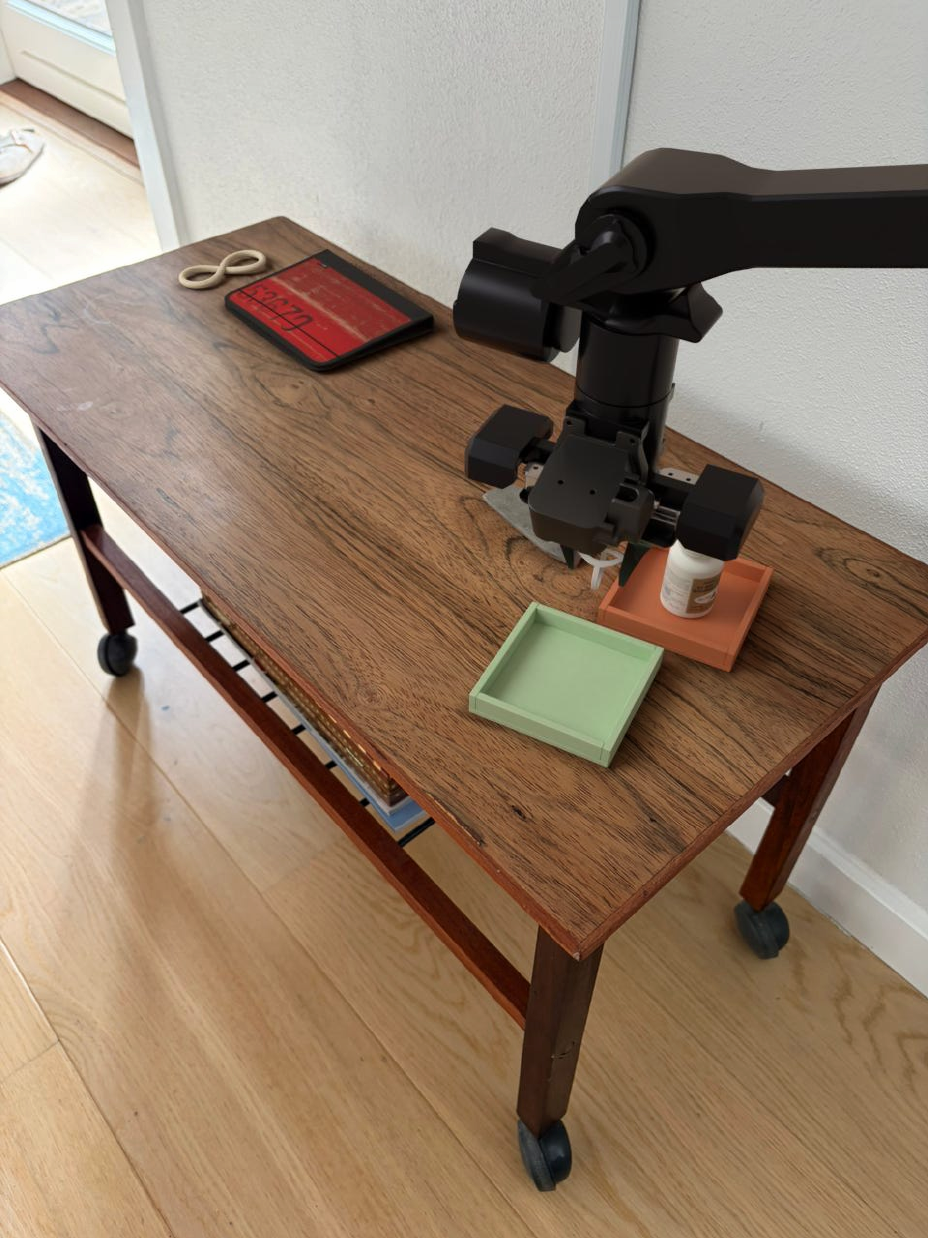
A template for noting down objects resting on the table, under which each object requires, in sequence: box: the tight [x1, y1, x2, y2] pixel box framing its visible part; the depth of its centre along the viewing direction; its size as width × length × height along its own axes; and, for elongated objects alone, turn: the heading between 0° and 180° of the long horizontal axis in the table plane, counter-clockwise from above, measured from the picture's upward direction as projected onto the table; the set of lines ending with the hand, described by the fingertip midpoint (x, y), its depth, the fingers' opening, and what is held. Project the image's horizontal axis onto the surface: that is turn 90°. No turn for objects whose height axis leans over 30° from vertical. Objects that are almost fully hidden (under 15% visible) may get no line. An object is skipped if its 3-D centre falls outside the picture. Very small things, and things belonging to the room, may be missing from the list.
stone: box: [482, 484, 583, 564], centre depth 91 cm, size 12×2×5 cm
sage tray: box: [468, 600, 665, 769], centre depth 78 cm, size 11×11×2 cm
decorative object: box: [178, 249, 267, 290], centre depth 125 cm, size 11×1×5 cm
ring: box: [578, 548, 624, 591], centre depth 71 cm, size 2×3×3 cm
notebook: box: [223, 248, 435, 372], centre depth 117 cm, size 16×2×21 cm
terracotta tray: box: [596, 539, 775, 673], centre depth 84 cm, size 11×11×2 cm
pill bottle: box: [660, 540, 724, 618], centre depth 82 cm, size 4×4×8 cm
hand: (597, 574), depth 72 cm, fingers closed on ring, 3 cm apart
